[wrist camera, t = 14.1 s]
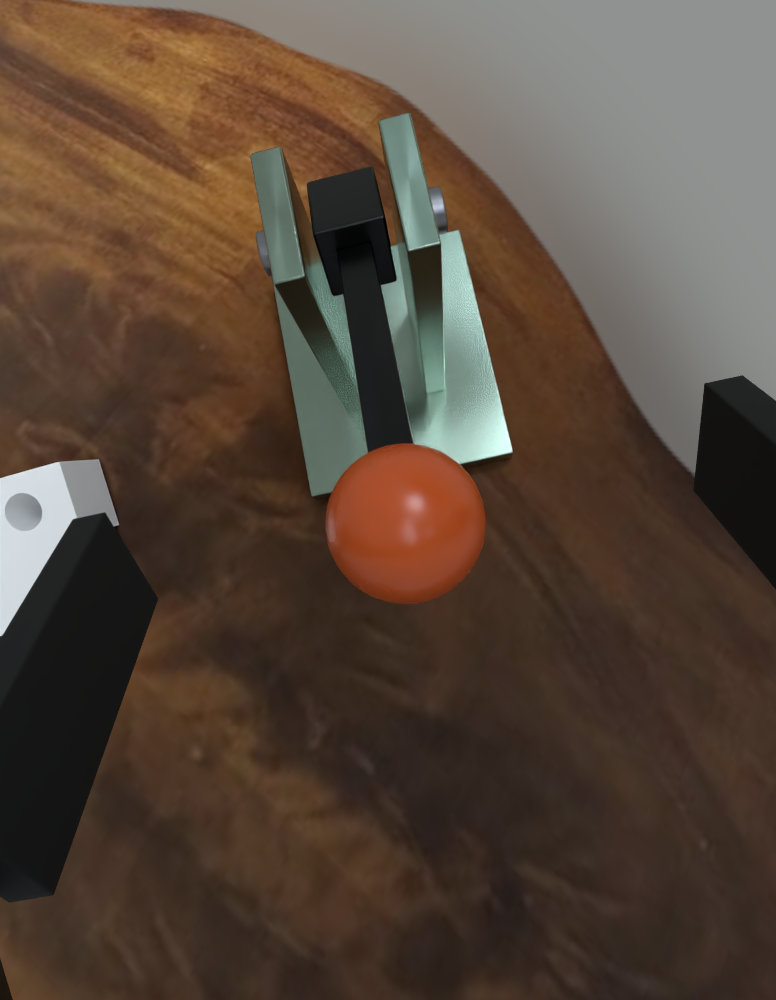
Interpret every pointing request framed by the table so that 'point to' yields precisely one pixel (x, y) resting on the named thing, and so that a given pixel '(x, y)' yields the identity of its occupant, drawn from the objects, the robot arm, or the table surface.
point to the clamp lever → (387, 425)
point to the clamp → (411, 315)
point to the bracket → (42, 521)
